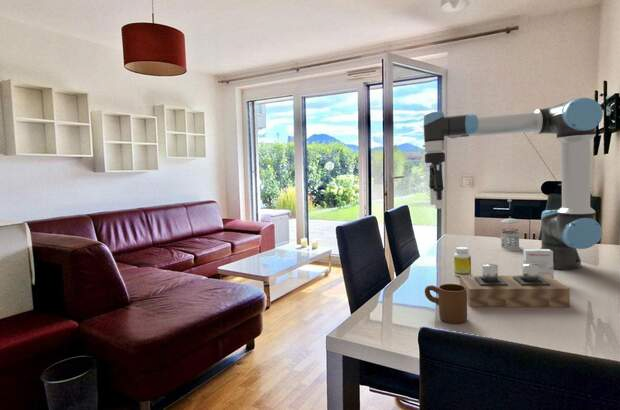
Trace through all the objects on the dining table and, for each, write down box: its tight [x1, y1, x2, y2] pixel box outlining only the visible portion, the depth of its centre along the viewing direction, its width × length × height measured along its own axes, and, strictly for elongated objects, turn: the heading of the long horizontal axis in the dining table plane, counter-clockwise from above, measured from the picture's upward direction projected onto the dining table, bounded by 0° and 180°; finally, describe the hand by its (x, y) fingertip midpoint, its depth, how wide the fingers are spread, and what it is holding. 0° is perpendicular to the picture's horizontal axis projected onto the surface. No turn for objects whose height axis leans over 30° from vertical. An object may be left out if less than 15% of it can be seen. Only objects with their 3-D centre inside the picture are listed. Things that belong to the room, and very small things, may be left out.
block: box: [459, 274, 571, 308], centre depth 120 cm, size 28×14×6 cm, turn 79°
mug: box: [424, 283, 468, 325], centre depth 108 cm, size 12×8×9 cm, turn 51°
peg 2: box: [522, 262, 539, 282], centre depth 118 cm, size 4×4×6 cm
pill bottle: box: [453, 246, 472, 278], centre depth 148 cm, size 6×6×11 cm
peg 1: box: [482, 262, 499, 283], centre depth 120 cm, size 4×4×6 cm
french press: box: [495, 198, 522, 252], centre depth 185 cm, size 10×12×25 cm
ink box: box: [522, 248, 555, 279], centre depth 134 cm, size 9×5×12 cm, turn 71°
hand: (436, 206), depth 147 cm, fingers open, 13 cm apart
